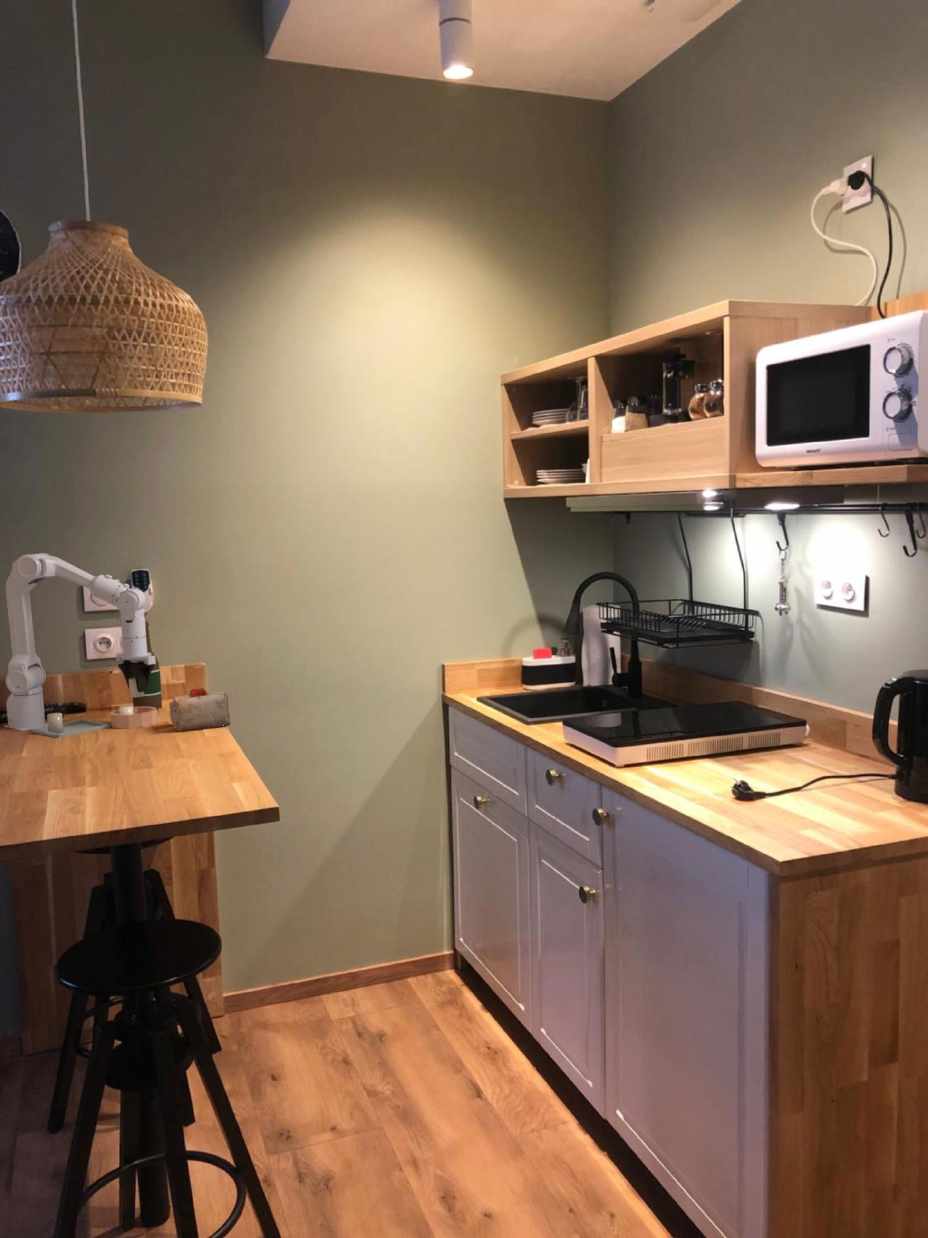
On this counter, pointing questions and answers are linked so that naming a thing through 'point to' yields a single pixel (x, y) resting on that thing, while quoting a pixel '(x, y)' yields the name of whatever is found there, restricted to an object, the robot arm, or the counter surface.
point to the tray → (73, 728)
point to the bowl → (134, 718)
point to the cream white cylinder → (126, 710)
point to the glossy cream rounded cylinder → (134, 688)
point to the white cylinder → (55, 723)
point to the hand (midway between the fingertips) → (138, 691)
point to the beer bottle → (151, 683)
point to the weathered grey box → (199, 710)
